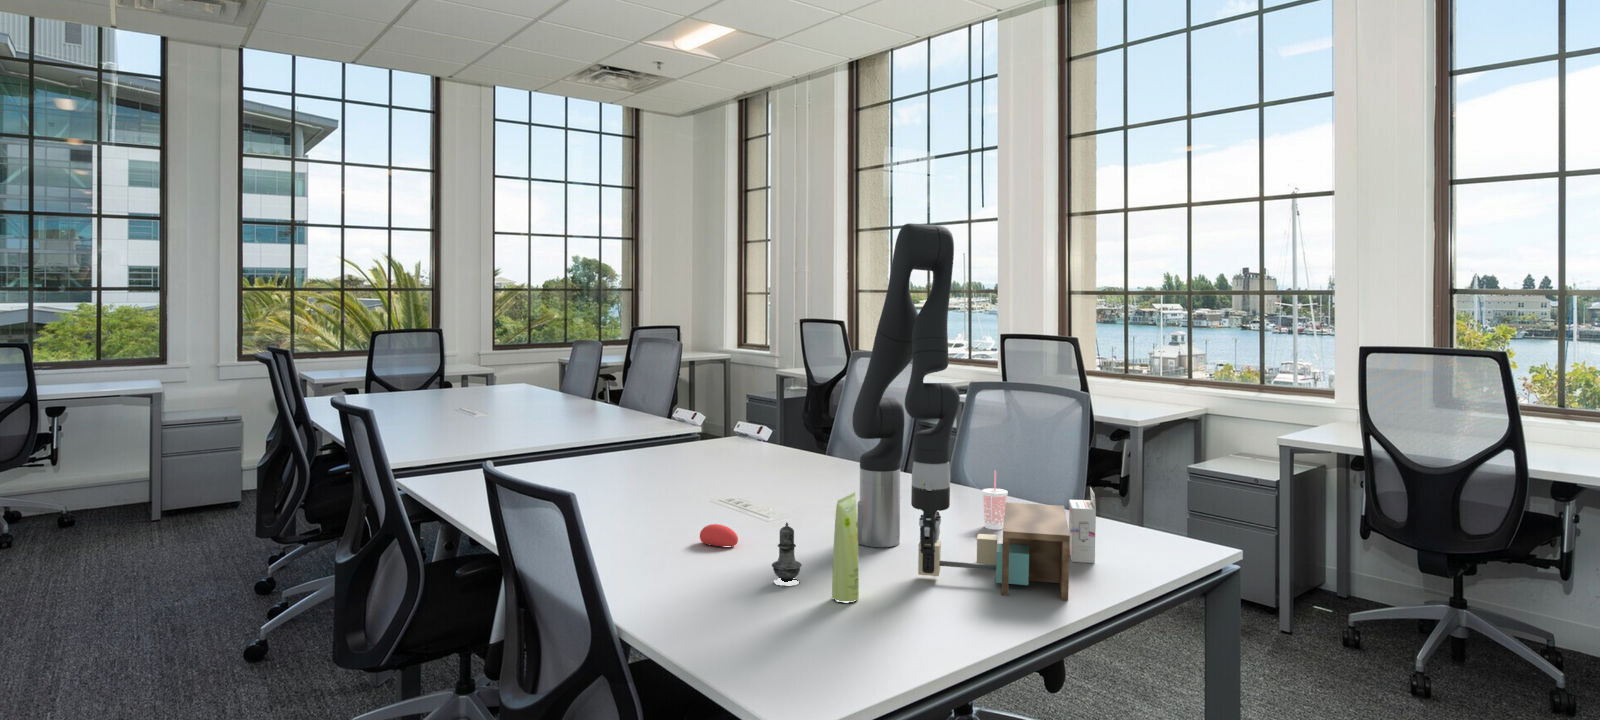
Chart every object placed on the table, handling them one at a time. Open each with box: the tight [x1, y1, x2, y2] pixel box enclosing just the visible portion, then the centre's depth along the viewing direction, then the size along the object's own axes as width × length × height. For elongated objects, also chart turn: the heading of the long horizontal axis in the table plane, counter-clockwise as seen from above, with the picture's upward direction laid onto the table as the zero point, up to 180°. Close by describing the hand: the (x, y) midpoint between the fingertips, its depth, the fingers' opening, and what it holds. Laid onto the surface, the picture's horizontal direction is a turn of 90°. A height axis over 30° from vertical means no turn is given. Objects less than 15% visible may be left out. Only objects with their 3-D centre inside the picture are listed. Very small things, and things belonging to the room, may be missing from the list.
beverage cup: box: [981, 469, 1009, 530], centre depth 215 cm, size 6×6×14 cm
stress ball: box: [699, 523, 739, 547], centre depth 198 cm, size 5×9×6 cm, turn 52°
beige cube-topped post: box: [976, 533, 998, 565], centre depth 183 cm, size 15×6×6 cm, turn 76°
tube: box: [831, 491, 860, 601], centre depth 162 cm, size 6×5×20 cm
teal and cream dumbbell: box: [917, 540, 1029, 586], centre depth 173 cm, size 21×6×6 cm, turn 77°
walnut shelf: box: [1001, 501, 1070, 601], centre depth 175 cm, size 12×24×12 cm, turn 166°
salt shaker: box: [771, 522, 803, 582], centre depth 172 cm, size 6×6×12 cm
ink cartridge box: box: [1068, 487, 1097, 564], centre depth 190 cm, size 9×5×15 cm, turn 168°
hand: (929, 568), depth 175 cm, fingers closed on teal and cream dumbbell, 4 cm apart
